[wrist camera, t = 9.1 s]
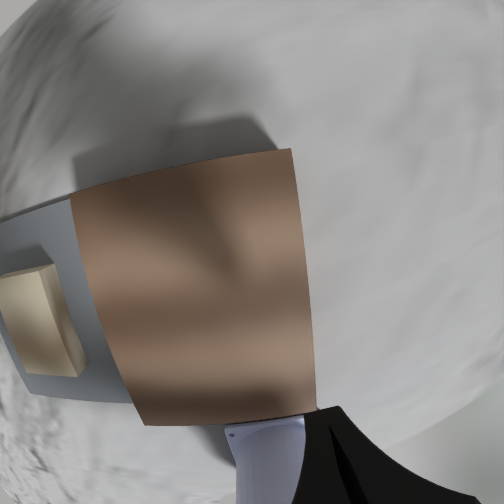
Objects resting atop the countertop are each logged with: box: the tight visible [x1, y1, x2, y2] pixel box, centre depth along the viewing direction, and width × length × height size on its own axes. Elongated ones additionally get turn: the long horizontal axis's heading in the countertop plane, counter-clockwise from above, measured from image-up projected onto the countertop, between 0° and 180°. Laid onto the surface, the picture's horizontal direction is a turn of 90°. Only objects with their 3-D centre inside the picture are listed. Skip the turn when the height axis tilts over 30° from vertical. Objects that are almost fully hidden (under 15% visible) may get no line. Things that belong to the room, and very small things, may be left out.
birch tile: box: [0, 263, 89, 377], centre depth 17 cm, size 8×6×2 cm
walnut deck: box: [69, 148, 317, 426], centre depth 17 cm, size 16×12×3 cm
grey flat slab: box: [0, 199, 133, 403], centre depth 18 cm, size 16×14×1 cm
